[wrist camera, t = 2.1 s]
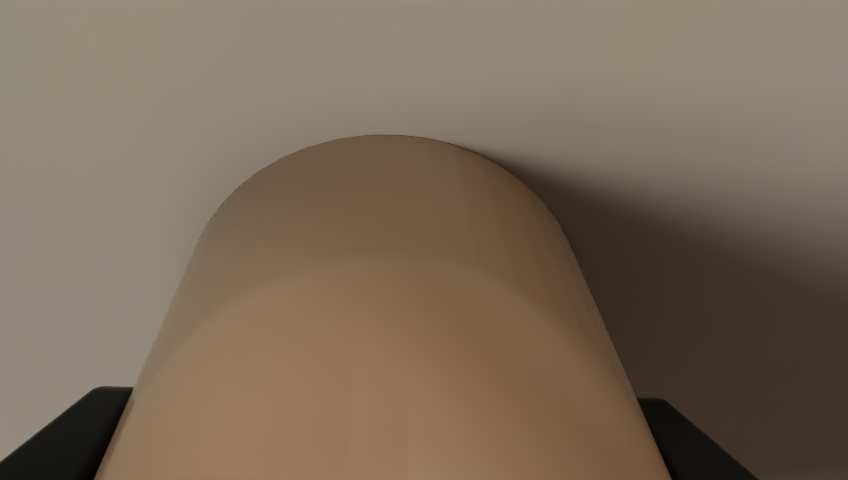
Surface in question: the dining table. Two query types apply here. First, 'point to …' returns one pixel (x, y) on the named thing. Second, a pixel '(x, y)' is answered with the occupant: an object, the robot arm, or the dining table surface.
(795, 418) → the dining table surface
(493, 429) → the brown egg
